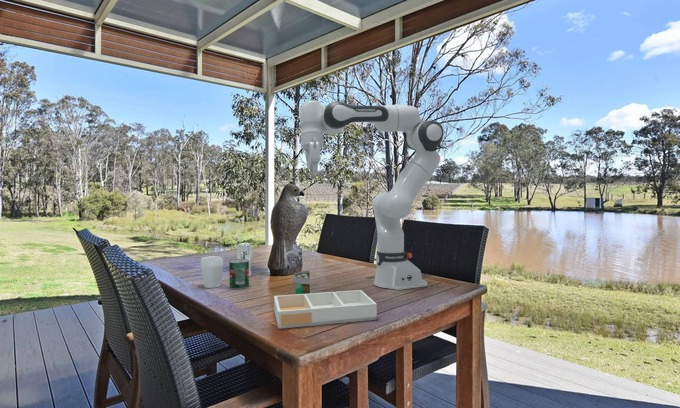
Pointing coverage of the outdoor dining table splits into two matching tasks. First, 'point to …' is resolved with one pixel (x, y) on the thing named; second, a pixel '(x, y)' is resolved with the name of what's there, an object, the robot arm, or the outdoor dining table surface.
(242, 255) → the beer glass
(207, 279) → the cup
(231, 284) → the canned tomato
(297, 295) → the tray
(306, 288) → the food container
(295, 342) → the outdoor dining table surface
